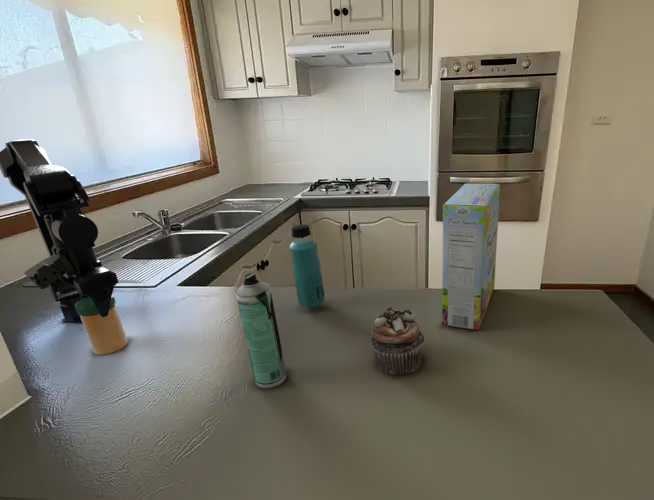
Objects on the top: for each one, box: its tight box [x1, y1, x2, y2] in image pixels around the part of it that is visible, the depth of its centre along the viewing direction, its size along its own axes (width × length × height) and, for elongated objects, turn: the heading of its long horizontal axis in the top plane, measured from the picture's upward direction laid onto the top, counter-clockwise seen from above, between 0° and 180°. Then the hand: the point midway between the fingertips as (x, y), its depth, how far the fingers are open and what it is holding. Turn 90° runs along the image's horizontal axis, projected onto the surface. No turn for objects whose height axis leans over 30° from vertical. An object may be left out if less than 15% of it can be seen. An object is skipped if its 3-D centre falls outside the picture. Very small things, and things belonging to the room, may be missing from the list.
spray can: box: [235, 272, 287, 389], centre depth 71 cm, size 6×6×20 cm
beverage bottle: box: [288, 223, 326, 308], centre depth 97 cm, size 6×7×20 cm
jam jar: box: [80, 304, 129, 356], centre depth 88 cm, size 6×6×10 cm
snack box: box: [441, 183, 501, 331], centre depth 90 cm, size 22×9×26 cm, turn 158°
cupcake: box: [370, 306, 426, 376], centre depth 75 cm, size 10×10×10 cm
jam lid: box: [75, 293, 117, 315], centre depth 86 cm, size 7×7×2 cm
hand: (97, 311), depth 87 cm, fingers open, 8 cm apart
